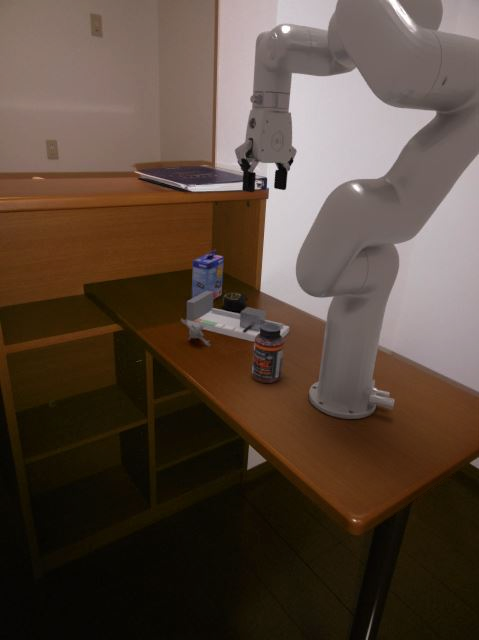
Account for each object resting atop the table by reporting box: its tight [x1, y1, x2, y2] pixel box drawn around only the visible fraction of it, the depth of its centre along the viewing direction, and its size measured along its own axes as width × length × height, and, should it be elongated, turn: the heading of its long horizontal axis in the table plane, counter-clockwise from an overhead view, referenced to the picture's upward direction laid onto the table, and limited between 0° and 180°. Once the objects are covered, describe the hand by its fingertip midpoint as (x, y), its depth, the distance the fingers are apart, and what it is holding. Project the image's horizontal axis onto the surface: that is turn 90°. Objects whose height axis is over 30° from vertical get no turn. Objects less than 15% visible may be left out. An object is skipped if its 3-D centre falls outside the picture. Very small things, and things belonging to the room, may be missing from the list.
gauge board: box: [186, 291, 290, 343], centre depth 114 cm, size 24×10×6 cm, turn 64°
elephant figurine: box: [180, 317, 211, 347], centre depth 107 cm, size 9×5×8 cm
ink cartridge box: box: [191, 249, 225, 300], centre depth 133 cm, size 10×6×14 cm, turn 155°
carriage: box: [239, 306, 267, 332], centre depth 112 cm, size 5×7×4 cm
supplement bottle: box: [251, 323, 285, 384], centre depth 91 cm, size 6×6×11 cm
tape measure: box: [221, 292, 249, 311], centre depth 128 cm, size 7×7×4 cm
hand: (264, 190), depth 99 cm, fingers open, 9 cm apart
